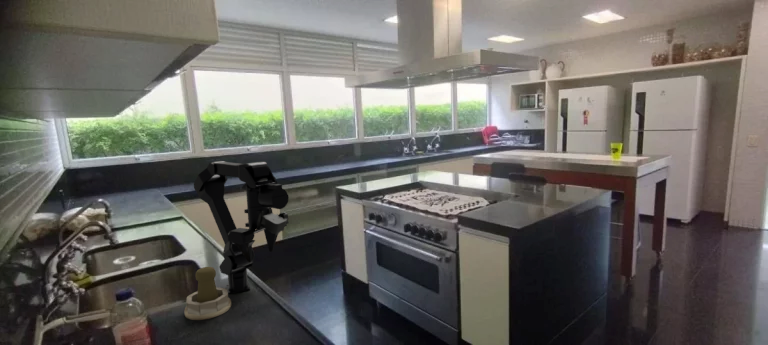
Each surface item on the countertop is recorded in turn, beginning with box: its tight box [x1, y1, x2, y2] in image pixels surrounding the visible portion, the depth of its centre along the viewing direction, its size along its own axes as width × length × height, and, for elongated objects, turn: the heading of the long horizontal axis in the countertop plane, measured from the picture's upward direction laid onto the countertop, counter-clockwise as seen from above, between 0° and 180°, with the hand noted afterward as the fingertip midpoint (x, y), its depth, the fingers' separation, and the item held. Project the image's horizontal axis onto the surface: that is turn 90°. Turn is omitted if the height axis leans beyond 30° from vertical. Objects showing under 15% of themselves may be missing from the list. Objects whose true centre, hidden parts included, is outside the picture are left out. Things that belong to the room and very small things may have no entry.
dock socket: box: [183, 286, 232, 321], centre depth 103 cm, size 12×12×4 cm
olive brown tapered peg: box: [194, 266, 219, 303], centre depth 103 cm, size 6×6×11 cm
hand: (260, 256), depth 108 cm, fingers open, 9 cm apart
